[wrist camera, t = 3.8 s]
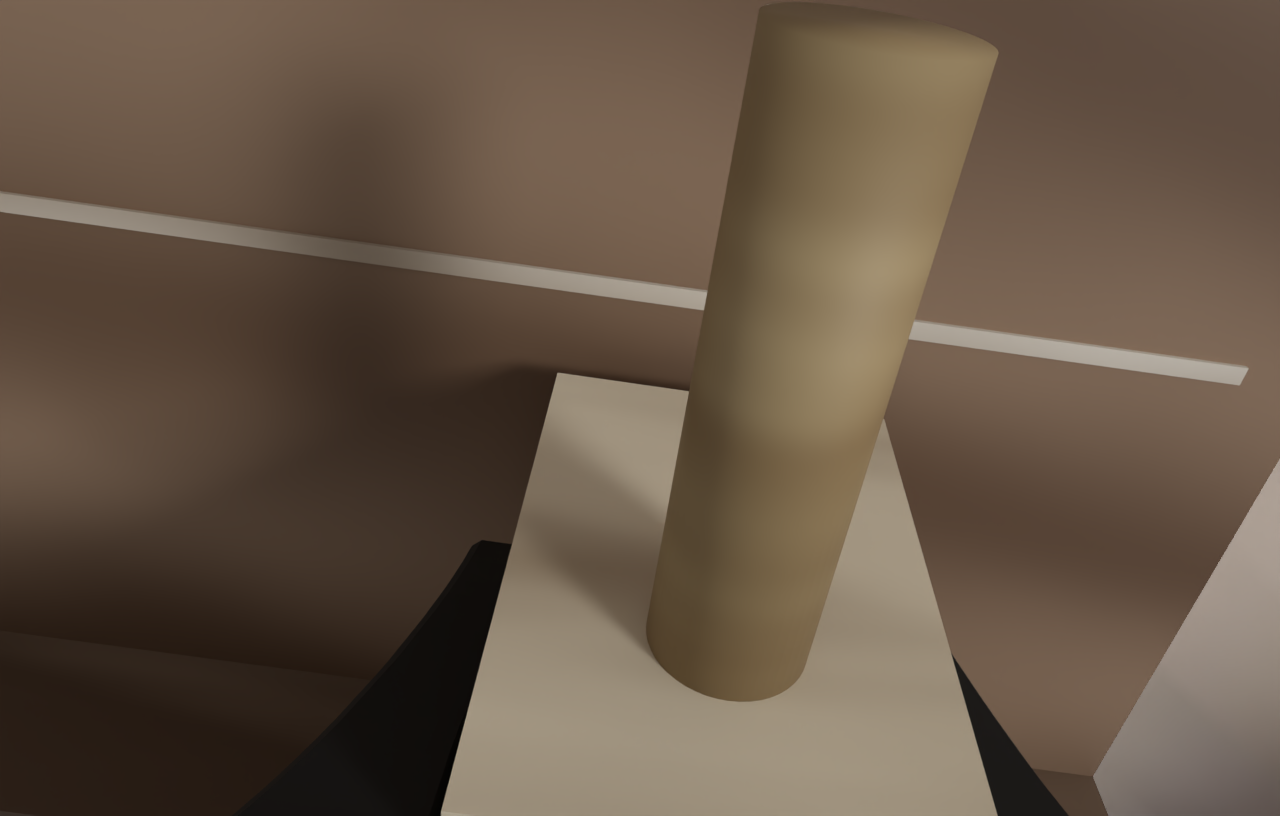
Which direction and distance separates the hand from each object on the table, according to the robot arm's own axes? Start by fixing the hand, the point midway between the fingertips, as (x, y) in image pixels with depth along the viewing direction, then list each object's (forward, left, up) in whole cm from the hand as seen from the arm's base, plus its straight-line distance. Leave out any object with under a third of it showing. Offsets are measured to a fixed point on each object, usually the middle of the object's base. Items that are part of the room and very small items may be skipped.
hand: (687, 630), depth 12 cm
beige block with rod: (+2, 0, -1) cm, 3 cm away
